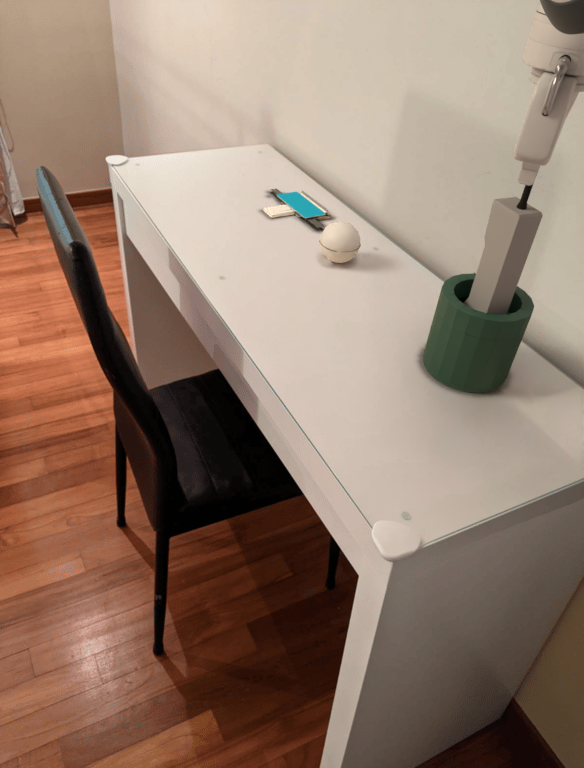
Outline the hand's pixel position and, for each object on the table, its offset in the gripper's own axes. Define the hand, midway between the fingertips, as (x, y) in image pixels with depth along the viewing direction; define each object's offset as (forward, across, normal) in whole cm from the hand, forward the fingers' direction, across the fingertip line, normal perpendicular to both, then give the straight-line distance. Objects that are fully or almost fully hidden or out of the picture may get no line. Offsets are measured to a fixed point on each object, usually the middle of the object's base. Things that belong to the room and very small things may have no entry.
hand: (526, 180), depth 72 cm
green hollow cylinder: (+28, 0, 0) cm, 28 cm away
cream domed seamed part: (+28, +19, +27) cm, 43 cm away
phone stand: (+28, +35, +44) cm, 63 cm away
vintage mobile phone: (+20, 0, 0) cm, 20 cm away
